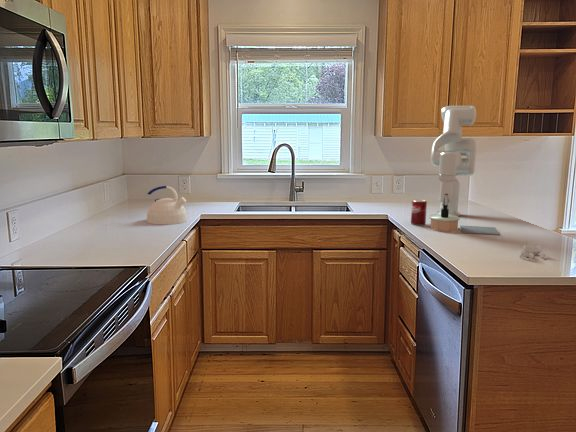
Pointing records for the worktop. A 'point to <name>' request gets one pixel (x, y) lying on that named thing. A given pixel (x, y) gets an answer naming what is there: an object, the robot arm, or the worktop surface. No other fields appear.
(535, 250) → the fabric
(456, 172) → the robot arm
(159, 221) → the kettle
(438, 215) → the lid
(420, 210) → the soda can
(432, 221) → the bowl
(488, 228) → the mat
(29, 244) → the worktop surface
